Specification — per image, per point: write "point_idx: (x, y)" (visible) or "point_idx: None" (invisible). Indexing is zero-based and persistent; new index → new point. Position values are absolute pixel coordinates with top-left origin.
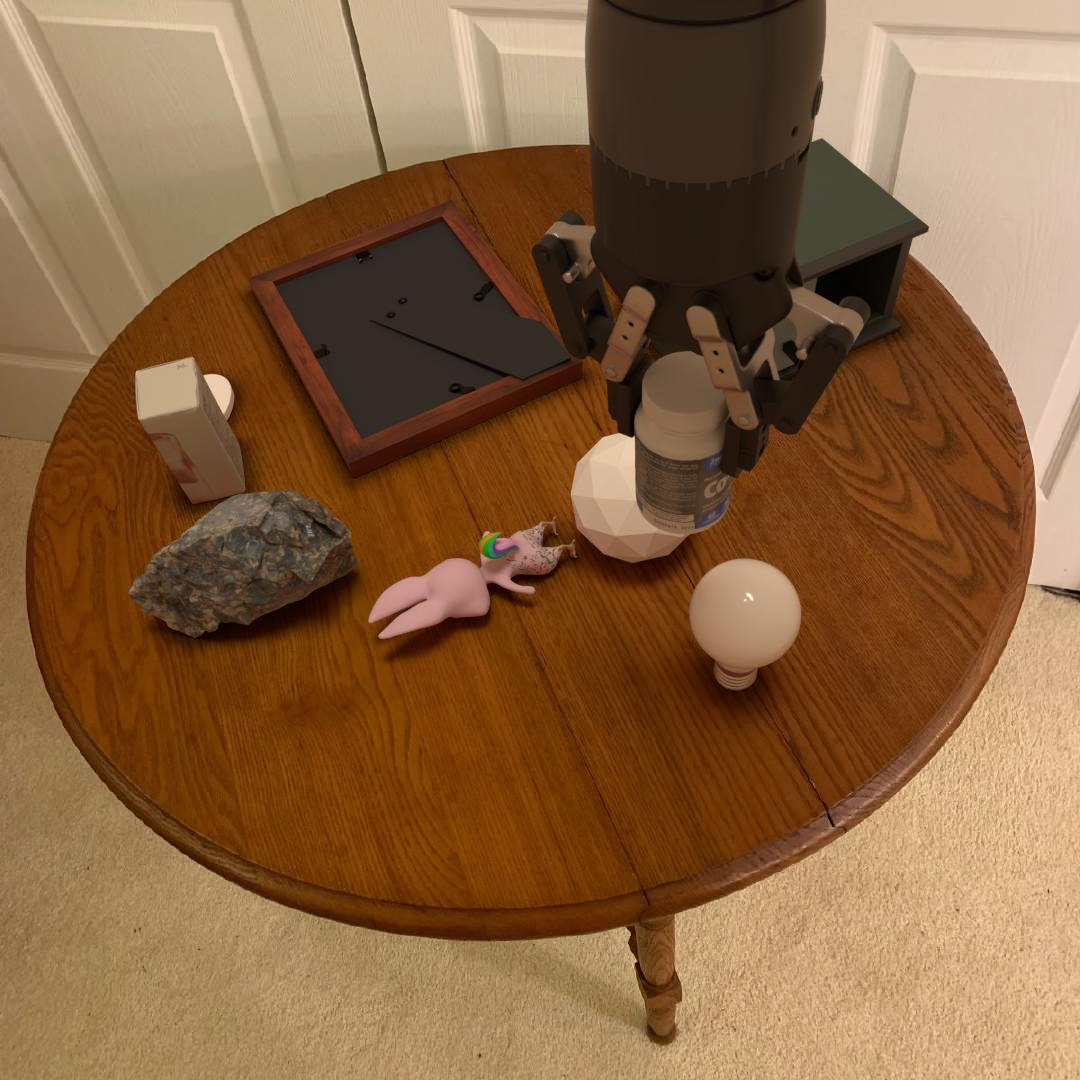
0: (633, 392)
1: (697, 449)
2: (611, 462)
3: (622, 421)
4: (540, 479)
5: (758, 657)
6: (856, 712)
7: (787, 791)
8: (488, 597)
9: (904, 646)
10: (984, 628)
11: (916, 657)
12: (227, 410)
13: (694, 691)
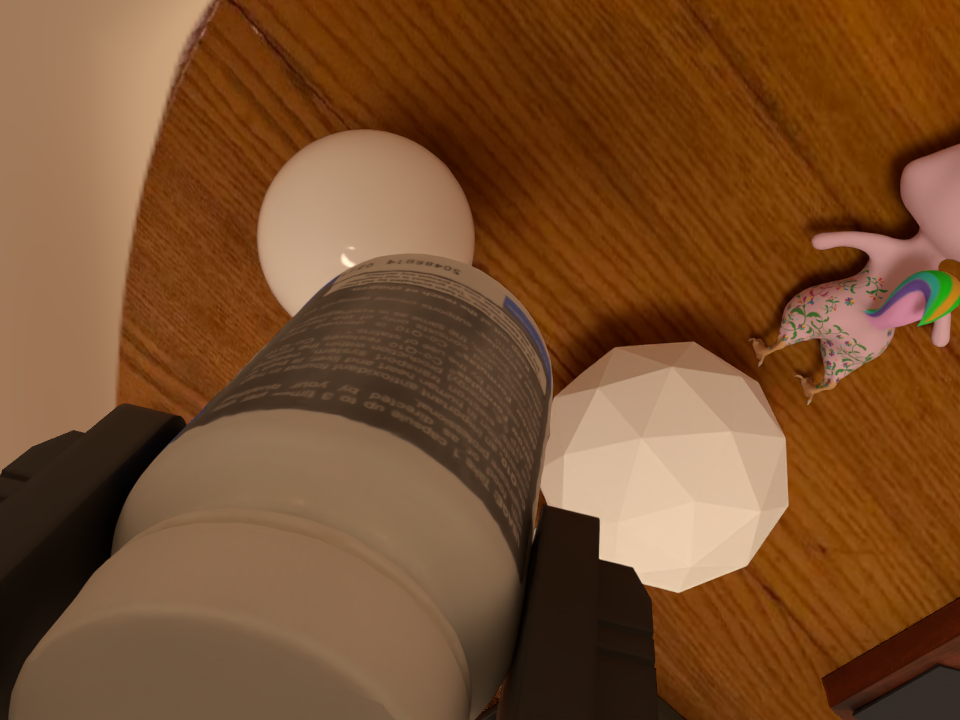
0: (512, 700)
1: (185, 465)
2: (711, 510)
3: (573, 559)
4: (855, 478)
5: (307, 145)
6: (235, 178)
7: (288, 3)
8: (907, 200)
9: (208, 306)
10: (122, 361)
11: (188, 293)
12: None
13: (479, 138)
